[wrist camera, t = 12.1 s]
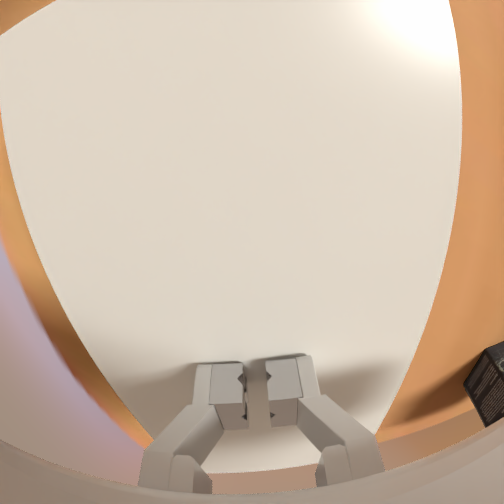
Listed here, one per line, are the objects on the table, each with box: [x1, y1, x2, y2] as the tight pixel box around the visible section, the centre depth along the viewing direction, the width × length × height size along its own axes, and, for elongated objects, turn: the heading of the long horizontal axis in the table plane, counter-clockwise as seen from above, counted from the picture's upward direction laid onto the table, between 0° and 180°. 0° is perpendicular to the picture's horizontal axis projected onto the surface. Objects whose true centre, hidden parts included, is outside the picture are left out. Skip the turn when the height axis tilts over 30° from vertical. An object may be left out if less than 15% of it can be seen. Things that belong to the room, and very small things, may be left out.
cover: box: [0, 0, 462, 473], centre depth 10 cm, size 24×12×1 cm, turn 6°
